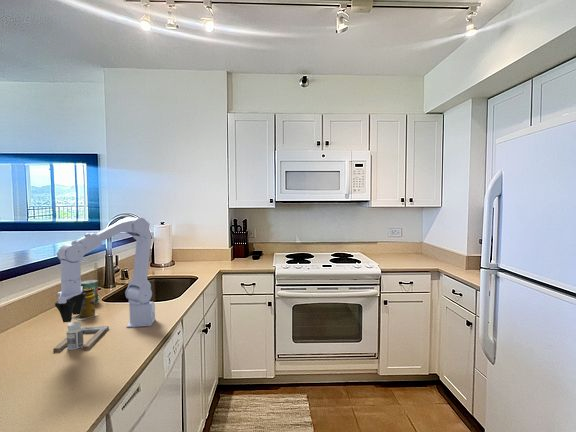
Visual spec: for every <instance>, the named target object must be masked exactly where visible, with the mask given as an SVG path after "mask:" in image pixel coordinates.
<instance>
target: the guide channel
mask: <svg viewBox="0 0 576 432" xmlns="http://www.w3.org/2000/svg"><path fill="white" fill-rule="evenodd" d="M105 333H107V331H106V329H100V330H99V331H98V332H97V333H94V335H93V336H91V337H90V338H89V340H87V341H86V342H85V344H84V343H83V346H82V347H81V349H82V351H87V350H90V349H91V348H92V347H93V346H94V345H95V344H96V343H97V342H98V341H99V340H100V338H102V337H103V336H104V334H105ZM65 347H67V337H65V338H64V339H63V340H62V341H60V343H58V344H57V345H56V346H54V347H53V348H52V350H53V352H52V353H60V352H61V351H62V350H63V349H65Z"/></svg>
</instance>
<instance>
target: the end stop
mask: <svg viewBox="0 0 576 432" xmlns="http://www.w3.org/2000/svg"><path fill="white" fill-rule="evenodd" d="M82 328H83V334H96V333H97V332H98V331H99V330H100V329H106V332H107V331H108V330H109V325H103V326H89V327H87V326H86V327H82Z"/></svg>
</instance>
